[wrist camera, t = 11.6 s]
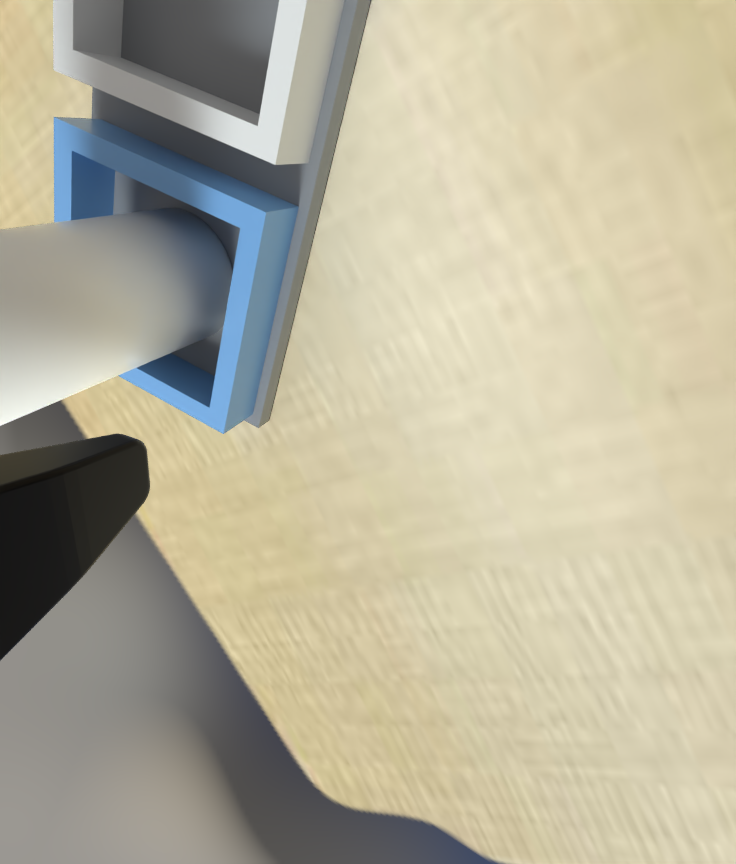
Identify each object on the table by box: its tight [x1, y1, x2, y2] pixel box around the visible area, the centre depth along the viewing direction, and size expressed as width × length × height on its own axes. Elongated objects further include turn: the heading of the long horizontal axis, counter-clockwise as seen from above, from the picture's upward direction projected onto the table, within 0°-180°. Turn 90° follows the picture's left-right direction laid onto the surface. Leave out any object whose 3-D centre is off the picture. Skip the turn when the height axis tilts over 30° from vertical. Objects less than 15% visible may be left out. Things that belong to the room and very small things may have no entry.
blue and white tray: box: [53, 0, 371, 434], centre depth 19 cm, size 20×9×3 cm, turn 162°
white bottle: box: [0, 208, 233, 425], centre depth 17 cm, size 5×5×13 cm
